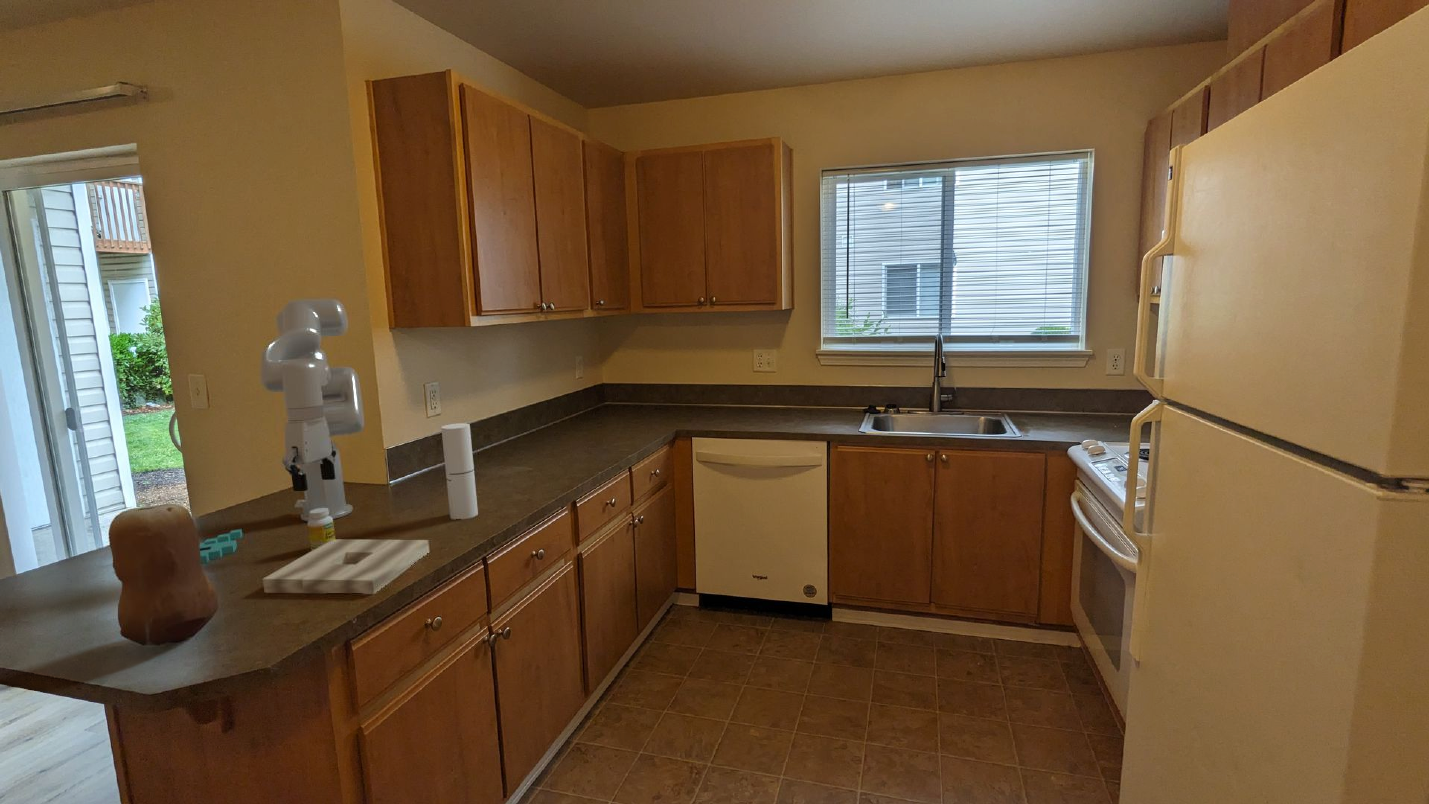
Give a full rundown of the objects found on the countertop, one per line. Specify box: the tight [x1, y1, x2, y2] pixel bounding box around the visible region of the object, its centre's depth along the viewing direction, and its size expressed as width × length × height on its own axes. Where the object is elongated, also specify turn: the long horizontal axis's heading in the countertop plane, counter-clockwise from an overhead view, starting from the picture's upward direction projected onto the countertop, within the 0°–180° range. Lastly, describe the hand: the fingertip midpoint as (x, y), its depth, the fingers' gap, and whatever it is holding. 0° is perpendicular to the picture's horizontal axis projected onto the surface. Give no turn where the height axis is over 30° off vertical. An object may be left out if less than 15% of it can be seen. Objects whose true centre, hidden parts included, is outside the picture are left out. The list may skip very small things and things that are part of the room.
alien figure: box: [199, 528, 243, 565], centre depth 159 cm, size 20×2×20 cm
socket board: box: [262, 538, 430, 595], centre depth 148 cm, size 24×22×3 cm
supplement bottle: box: [307, 508, 336, 551], centre depth 162 cm, size 5×5×10 cm
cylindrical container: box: [440, 422, 479, 520], centre depth 181 cm, size 7×7×25 cm
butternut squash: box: [108, 503, 219, 646], centre depth 118 cm, size 14×13×25 cm
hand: (315, 484), depth 159 cm, fingers open, 9 cm apart
